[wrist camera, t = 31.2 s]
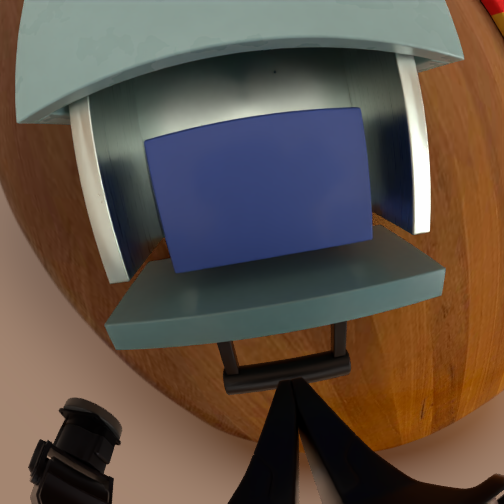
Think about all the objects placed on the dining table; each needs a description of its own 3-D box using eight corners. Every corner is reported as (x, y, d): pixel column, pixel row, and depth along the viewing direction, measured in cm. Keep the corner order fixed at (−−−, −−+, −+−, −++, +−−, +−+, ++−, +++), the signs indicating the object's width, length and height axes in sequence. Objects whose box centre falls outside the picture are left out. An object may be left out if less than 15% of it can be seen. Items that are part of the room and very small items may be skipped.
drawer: (377, 317, 16) (420, 380, 11) (178, 350, 16) (160, 425, 11) (342, -7, 9) (386, -61, 4) (108, 27, 9) (51, -14, 4)
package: (340, 216, 13) (373, 240, 9) (191, 241, 13) (174, 275, 9) (328, 117, 11) (361, 106, 8) (170, 142, 11) (141, 140, 8)
